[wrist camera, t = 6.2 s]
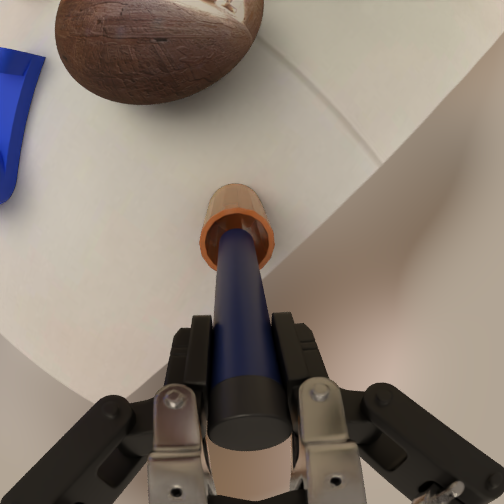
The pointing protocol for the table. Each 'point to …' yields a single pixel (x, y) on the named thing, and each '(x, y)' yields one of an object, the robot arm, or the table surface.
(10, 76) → the bracket
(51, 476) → the robot arm
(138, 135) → the table surface
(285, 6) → the table surface
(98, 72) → the wooden sphere
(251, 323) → the marker
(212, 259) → the pen cup
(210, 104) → the table surface
